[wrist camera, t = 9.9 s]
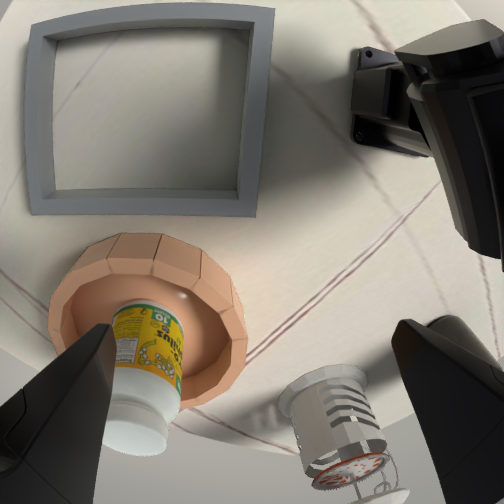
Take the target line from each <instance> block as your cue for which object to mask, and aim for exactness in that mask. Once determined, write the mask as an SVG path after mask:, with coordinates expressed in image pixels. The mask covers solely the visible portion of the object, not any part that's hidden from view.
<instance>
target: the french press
mask: <svg viewBox="0 0 504 504" xmlns="http://www.w3.org/2000/svg"><path fill="white" fill-rule="evenodd" d="M367 384H368V381H367V375H366V373H365V372H364V371H363V370H361V369H360V368H359V367H357V366H352V365H345V364H339V365H333V366H326V367H322V368H319V369H317V370H314V371H312V372H309V373H306V374H304V375H303V376H301V377H300V378H298V379H297V380H295V381H294V382H292V383H291V384H289V385H288V386H287V388H286V389H285V390H284V392H283V393H282V394H281V395H280V397H279V403H278V409H279V410H280V412H281V413H282V415H283V416H285V417H287V418H289V419H291V420H292V426H293V428H294V433H295V437H296V439H297V445H298V448H299V450H300V457H301V461H302V464H303V468H304V472H305V474H306V475H307V476H308V477H310V478H314V480H313V482H312V486H313V487H314V488H315V489H318V490H329V489H330V490H332V489H333V490H334V489H336V490H337V488H340V487H344V486H348V485H349V486H350V485H351V484H352V485H354V486H355V489H356V492H357V495H358V498H359V500H357V501H354V502H351V503H349V504H403V502H404V501H405V499H406V498H407V496H408V495H409V493H410V490H408V489H405V488H397V487H398V485H399V471H398V468H397V466H396V463H395V461H394V458H393V456H392V454H391V453H390V451H389V450H388V448H387V443H386V440H385V438H384V436H383V434H382V432H381V431H380V430H379V429H380V427H379V425H378V423H377V421H376V420H375V419H376V418H375V416H374V414H373V412H372V410H371V407H370V405H369V403H368V401H367V399H366V396H365V394H364V391H365V389H366V386H367ZM367 404H368V405H367ZM352 408H353V410H351V409H352ZM350 416H356V417H357V419H358V422H357V421H354V422H352V421H351V418H350ZM294 425H295V426H296V428H295V427H294ZM296 435H298V437H299V438H297V436H296ZM363 440H366V441H367V443H368V446H369V448H370V449H369V448H368V447H366V446H365V445H363V444H362V443H360V441H363ZM300 445H301V448H300V447H299V446H300ZM362 447H364V448H365V449H366V450H367V451H369V452H370V453H367V454H364V451H363V449H362ZM336 449H337V450H338V452H337V453H335V454H334V455H332V456H331V457H328V458H325V459H322V460H318V458H320V457H321V456H323V455H325V454H327V453H329V452H331V451H334V450H336ZM385 450H386V451H387V452H388V454H389V455H387V454H385V453H383V452H384V451H385ZM389 456H390V457H391V459H392V462H393V464H394V466H395V469H396V474H397V482H396V486H395V488H394V489H392V488H391V485H390V483H388V482H387V481H386V476H385V474H384V472H383V468H384V467H385V466H386V464H388V462H389ZM339 457H340V459H341V462H340V463H337V464H335V465H332V466H330V467H329V468H327V469H325V470H318V469H313V468H312V467H311V466H310V464H311V463H312V464H317V465H325V464H328V463H331V462H333V461H335V460H336V459H338V458H339ZM379 471H381V473H382V476H383V479H384V482H382V483H380V484H379V485H377V486H376V487H375V489H374V495H370V496H368V497H365V498H361V495H360V492H359V490H358V487H357V484H356V483H357V482H360V481H363V480H365V479H367V478H369V477H372V475H375V474H376V473H378V472H379ZM383 484H384V490H383V492H381V493H378V494H377V492H376V489H377V488H378V487H380V486H381V485H383ZM386 484H387V485H388V487H389V490H388V491H386ZM396 488H397V489H396Z"/></svg>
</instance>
